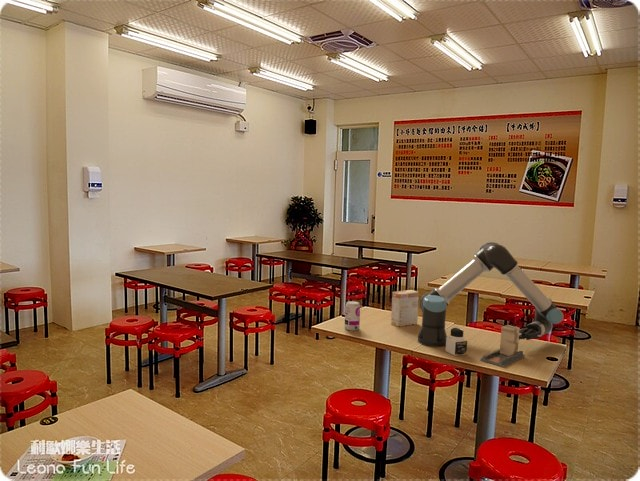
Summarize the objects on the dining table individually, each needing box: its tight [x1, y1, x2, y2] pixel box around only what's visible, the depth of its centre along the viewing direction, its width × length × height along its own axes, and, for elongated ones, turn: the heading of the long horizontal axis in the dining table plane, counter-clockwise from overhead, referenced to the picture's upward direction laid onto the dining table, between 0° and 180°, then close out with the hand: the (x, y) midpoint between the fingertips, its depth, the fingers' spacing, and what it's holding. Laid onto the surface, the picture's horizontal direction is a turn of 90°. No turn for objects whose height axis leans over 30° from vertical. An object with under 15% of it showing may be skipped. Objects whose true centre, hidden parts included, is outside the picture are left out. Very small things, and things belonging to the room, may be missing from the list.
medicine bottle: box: [445, 327, 468, 357], centre depth 226 cm, size 7×7×12 cm
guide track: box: [480, 348, 526, 368], centre depth 220 cm, size 22×11×2 cm, turn 133°
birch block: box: [499, 324, 520, 356], centre depth 223 cm, size 6×6×13 cm
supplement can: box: [344, 300, 361, 332], centre depth 261 cm, size 8×8×15 cm
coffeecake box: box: [390, 289, 420, 327], centre depth 275 cm, size 15×7×20 cm, turn 120°
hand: (514, 338), depth 225 cm, fingers closed
